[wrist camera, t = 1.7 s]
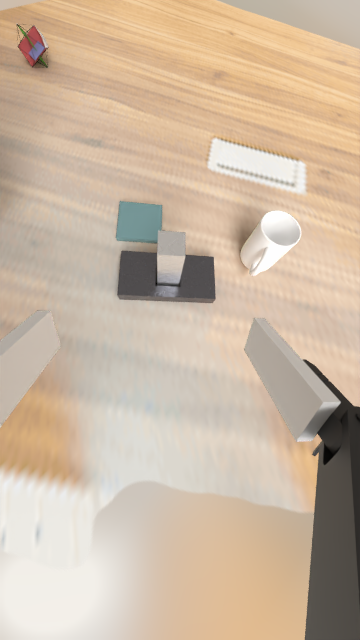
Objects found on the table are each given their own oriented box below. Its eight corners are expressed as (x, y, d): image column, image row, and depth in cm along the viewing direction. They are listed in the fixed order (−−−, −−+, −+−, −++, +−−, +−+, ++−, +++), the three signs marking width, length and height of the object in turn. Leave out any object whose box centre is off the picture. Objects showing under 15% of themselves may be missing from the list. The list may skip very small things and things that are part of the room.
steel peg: (157, 288, 42) (157, 254, 30) (158, 270, 43) (158, 230, 31) (177, 289, 43) (185, 256, 30) (177, 271, 44) (185, 232, 31)
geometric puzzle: (24, 66, 52) (25, 20, 47) (10, 51, 52) (9, 4, 47) (52, 82, 57) (56, 43, 52) (39, 68, 58) (41, 28, 53)
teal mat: (117, 240, 44) (116, 237, 43) (120, 204, 46) (119, 201, 45) (160, 243, 45) (161, 240, 44) (162, 208, 48) (162, 205, 47)
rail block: (119, 299, 41) (117, 294, 38) (123, 257, 43) (121, 250, 41) (212, 303, 43) (215, 299, 40) (210, 262, 45) (213, 256, 43)
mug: (259, 291, 45) (288, 269, 35) (228, 275, 45) (248, 248, 35) (275, 252, 48) (306, 222, 38) (246, 237, 48) (268, 203, 38)
